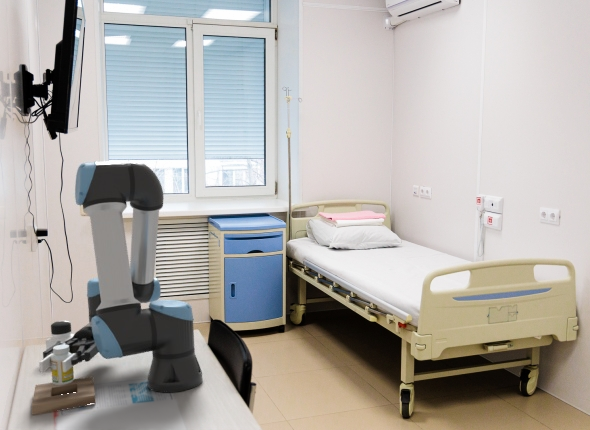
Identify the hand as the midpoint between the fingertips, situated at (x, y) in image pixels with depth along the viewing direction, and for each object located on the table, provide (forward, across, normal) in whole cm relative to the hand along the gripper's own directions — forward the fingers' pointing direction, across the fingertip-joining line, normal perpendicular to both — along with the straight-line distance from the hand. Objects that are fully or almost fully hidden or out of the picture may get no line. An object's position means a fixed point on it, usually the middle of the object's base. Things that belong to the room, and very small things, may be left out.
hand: (52, 367), depth 153 cm
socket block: (-5, 0, -11) cm, 12 cm away
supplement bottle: (-5, 0, -6) cm, 8 cm away
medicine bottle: (-38, +16, -12) cm, 43 cm away
